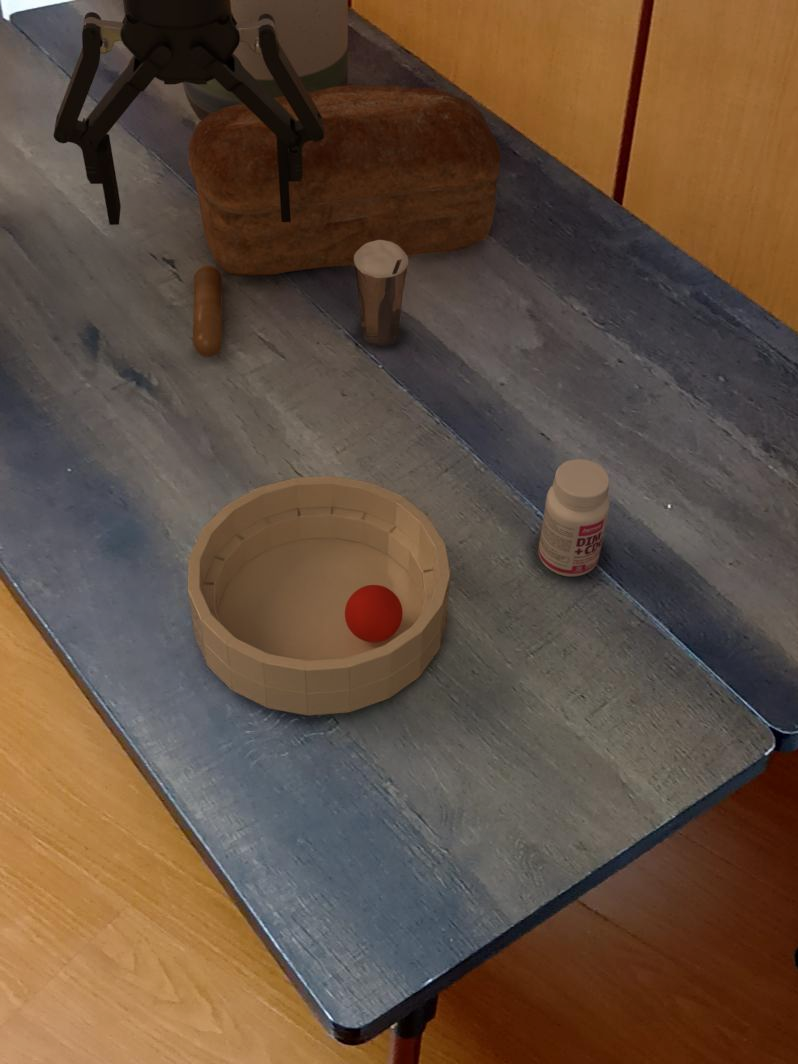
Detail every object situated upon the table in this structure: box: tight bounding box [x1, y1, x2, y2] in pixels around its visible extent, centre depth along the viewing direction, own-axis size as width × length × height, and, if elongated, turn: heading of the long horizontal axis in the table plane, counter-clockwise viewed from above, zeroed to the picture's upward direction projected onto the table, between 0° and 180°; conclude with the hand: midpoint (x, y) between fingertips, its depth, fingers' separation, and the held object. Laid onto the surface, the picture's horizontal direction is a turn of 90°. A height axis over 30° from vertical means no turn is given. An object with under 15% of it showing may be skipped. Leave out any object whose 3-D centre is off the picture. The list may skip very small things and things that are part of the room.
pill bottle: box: [537, 458, 611, 577], centre depth 98 cm, size 5×5×8 cm
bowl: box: [187, 475, 451, 716], centre depth 93 cm, size 18×18×6 cm
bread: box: [188, 85, 501, 277], centre depth 121 cm, size 12×28×14 cm, turn 111°
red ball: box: [345, 585, 403, 642], centre depth 92 cm, size 4×4×4 cm
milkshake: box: [354, 240, 409, 347], centre depth 113 cm, size 4×5×10 cm
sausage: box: [192, 264, 223, 357], centre depth 115 cm, size 11×2×2 cm, turn 10°
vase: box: [182, 0, 349, 121], centre depth 131 cm, size 17×17×24 cm
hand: (201, 214), depth 108 cm, fingers open, 13 cm apart
